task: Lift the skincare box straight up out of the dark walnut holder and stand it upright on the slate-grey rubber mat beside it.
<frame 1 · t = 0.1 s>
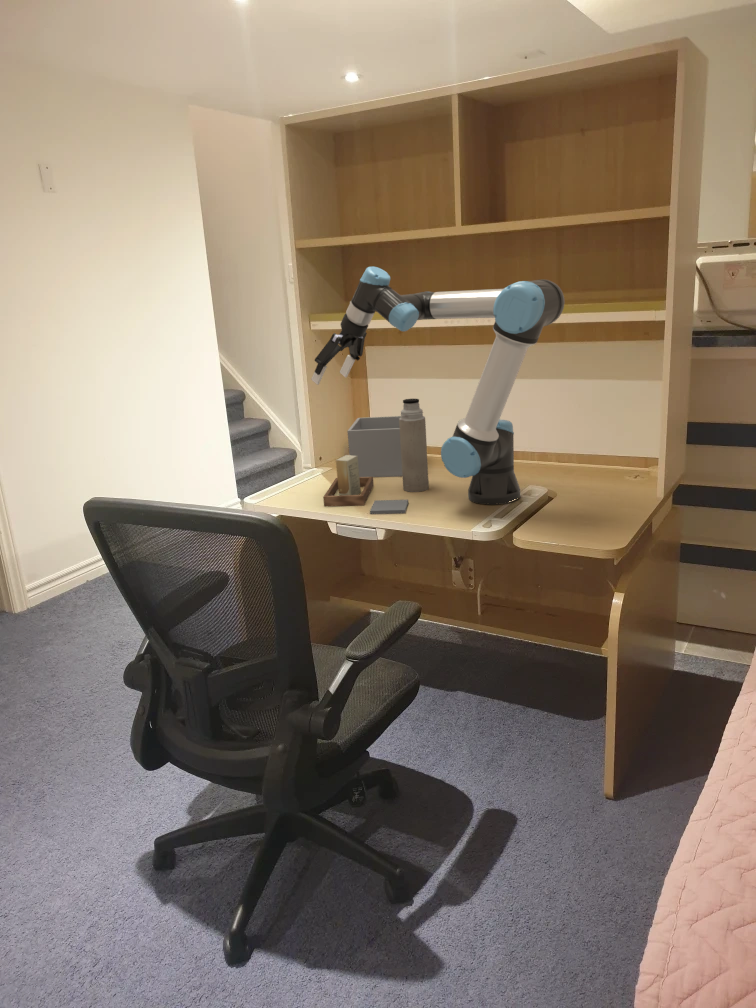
hand: (329, 378, 234), 36 cm above the table, tool tilted 35°, fingers open, 13 cm apart
thermos bottle: (416, 489, 242), on the table
walnut holder: (349, 495, 239), on the table
skincare box: (349, 496, 239), resting in walnut holder
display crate: (387, 468, 268), on the table
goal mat: (389, 508, 224), on the table
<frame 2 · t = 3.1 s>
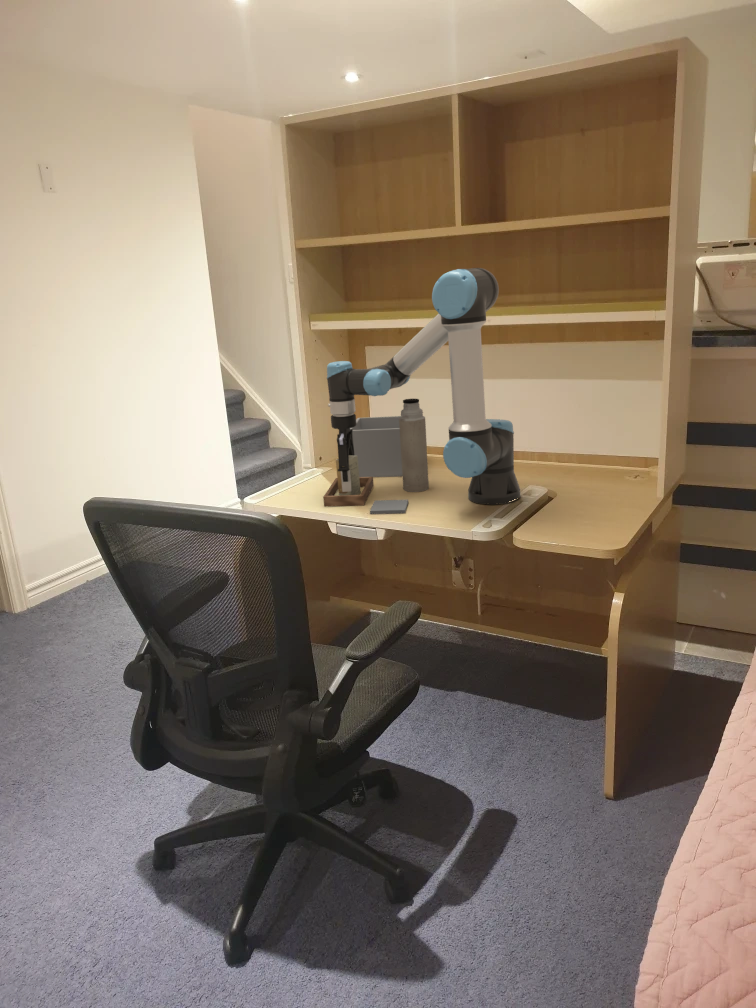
hand: (349, 487, 238), 3 cm above the table, tool pointing down, fingers closed on skincare box, 7 cm apart
skincare box: (349, 496, 239), resting in walnut holder, touching gripper
everything else where it was.
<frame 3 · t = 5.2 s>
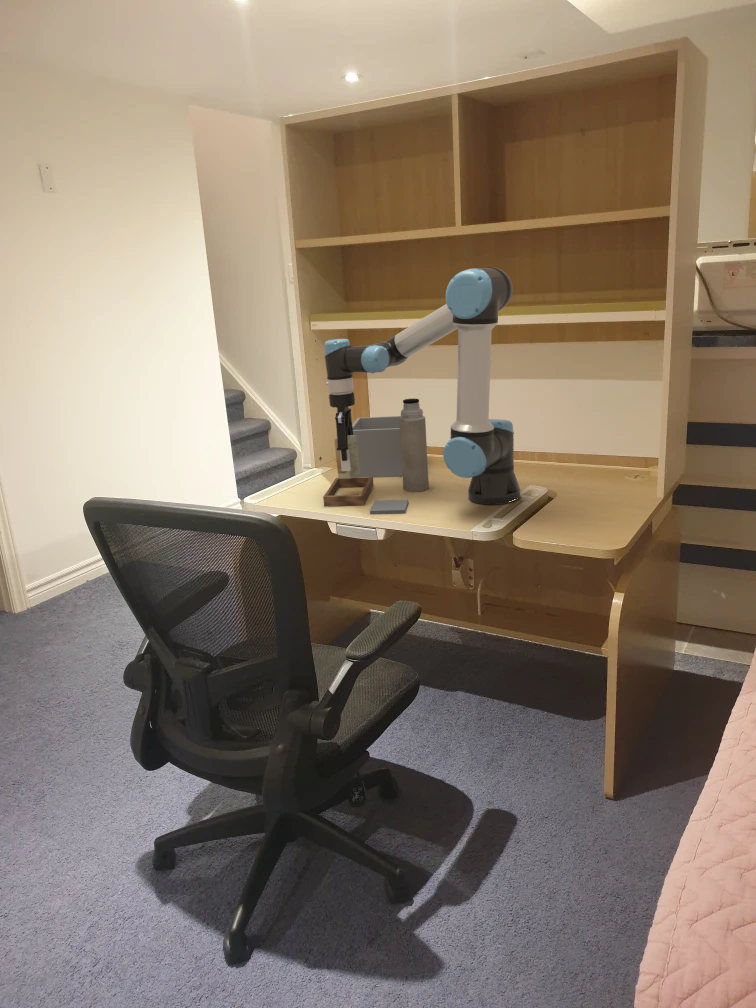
hand: (348, 467, 236), 9 cm above the table, tool pointing down, fingers closed on skincare box, 7 cm apart
skincare box: (349, 476, 237), point 6 cm above the table, touching gripper
everything else where it was.
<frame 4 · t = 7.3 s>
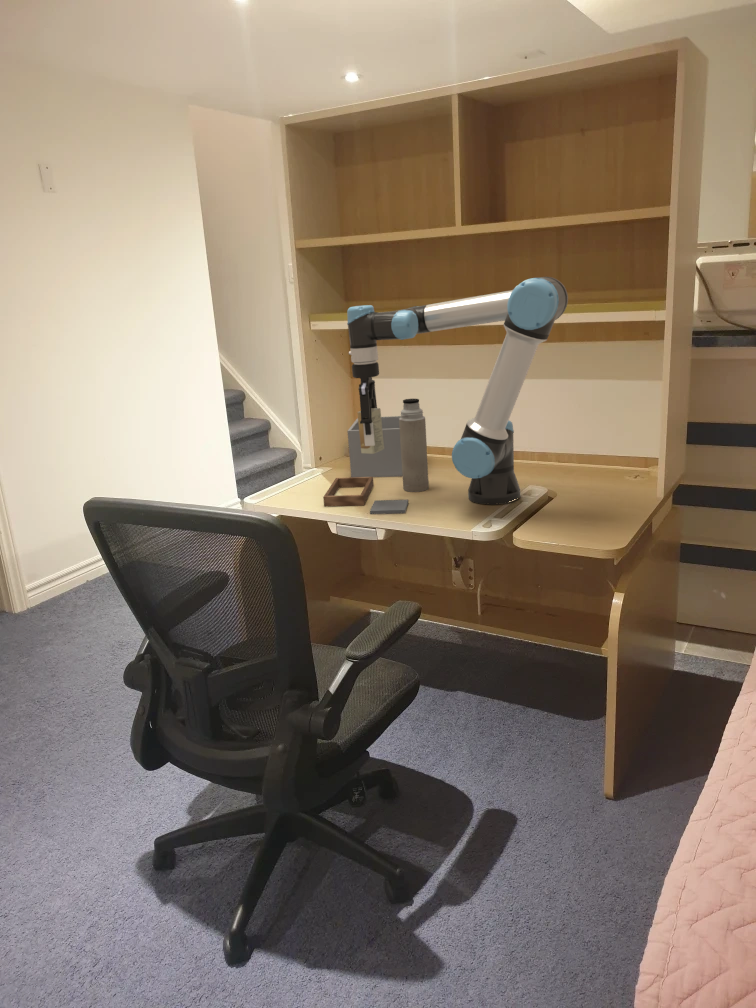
hand: (372, 442, 224), 19 cm above the table, tool pointing down, fingers closed on skincare box, 7 cm apart
skincare box: (372, 452, 224), point 16 cm above the table, touching gripper
everything else where it was.
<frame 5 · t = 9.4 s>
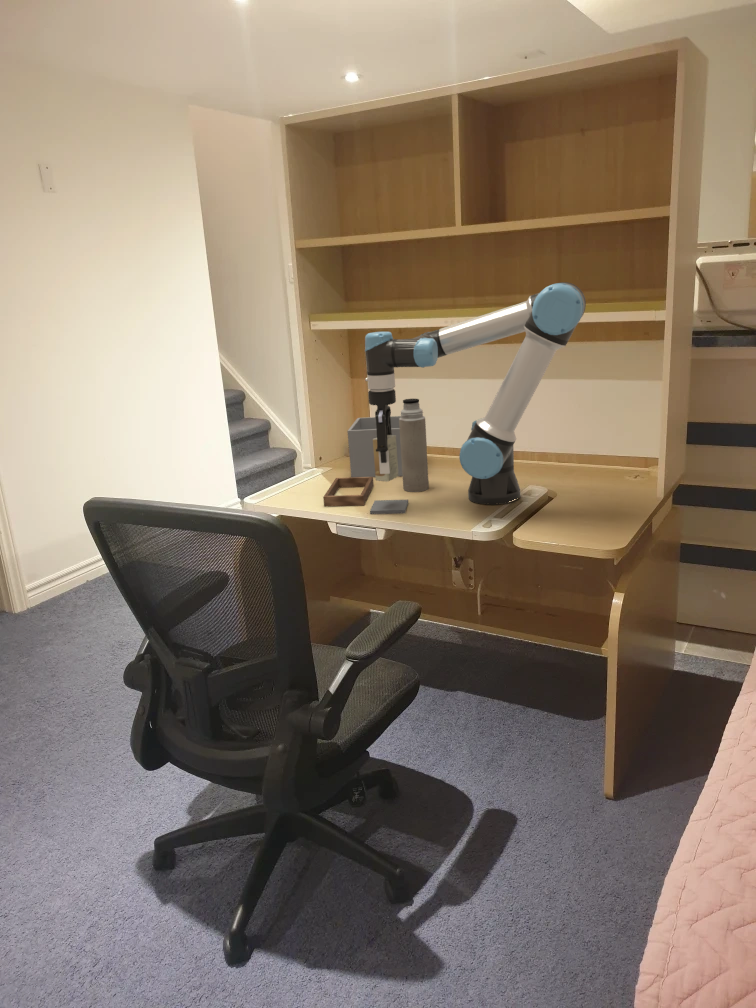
hand: (386, 469, 221), 12 cm above the table, tool pointing down, fingers closed on skincare box, 7 cm apart
skincare box: (387, 479, 221), point 9 cm above the table, touching gripper
everything else where it was.
when the fingers open (5 cm above the table, at t = 11.4 s): skincare box drops 1 cm, resting on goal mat.
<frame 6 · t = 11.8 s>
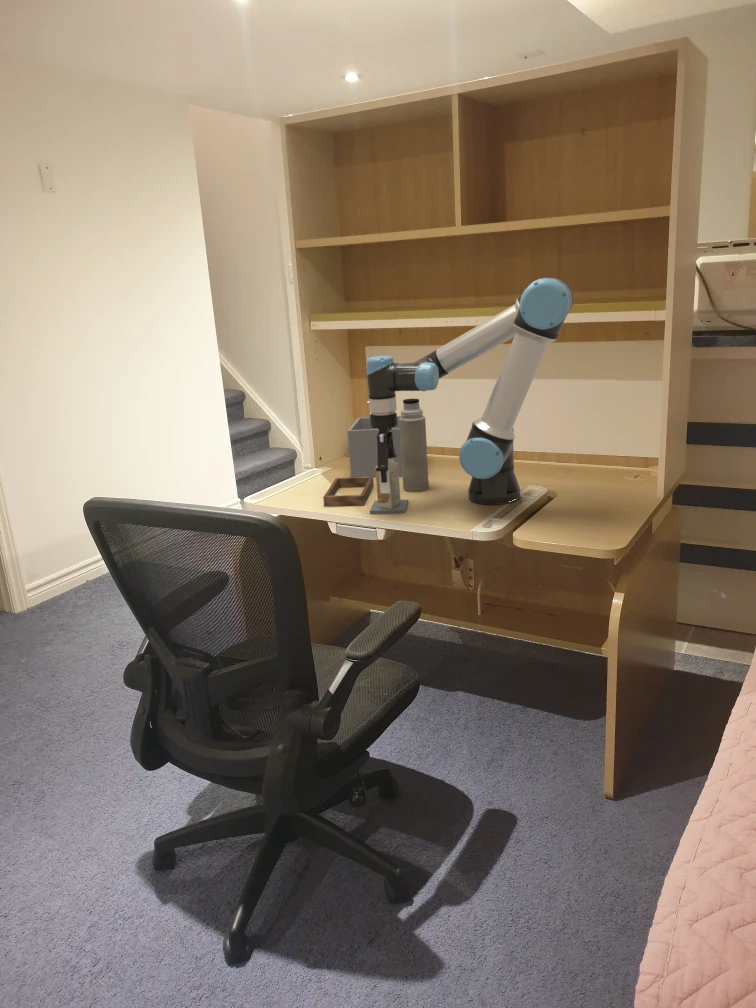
hand: (388, 486, 222), 7 cm above the table, tool pointing down, fingers open, 13 cm apart
skincare box: (389, 506, 223), point 1 cm above the table, touching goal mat
everything else where it was.
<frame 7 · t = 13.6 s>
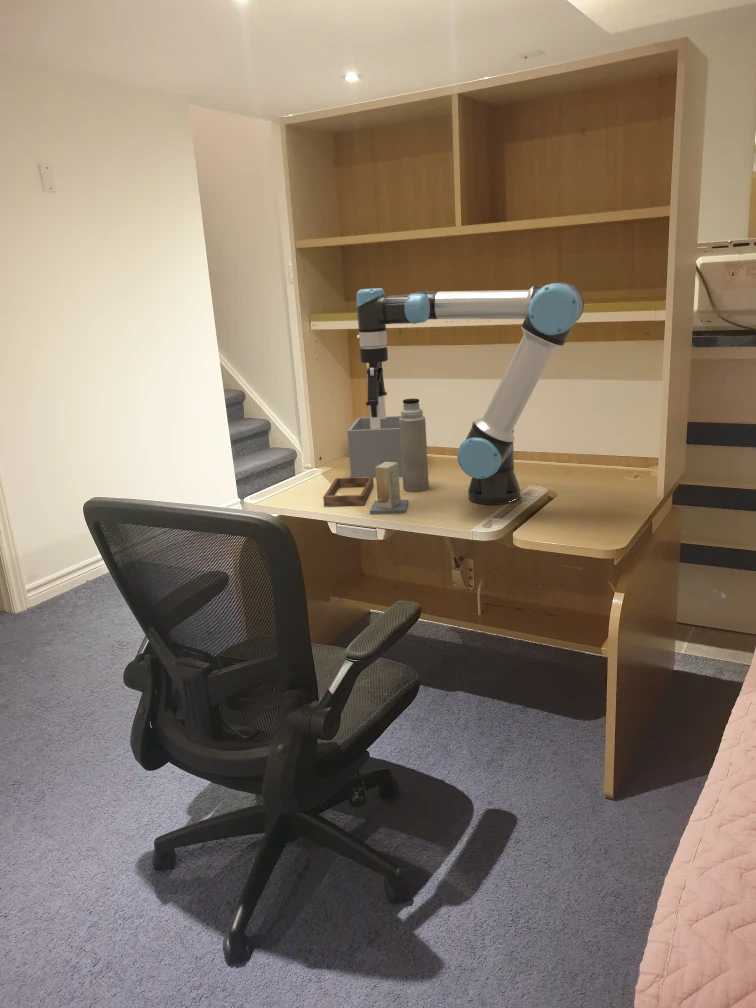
hand: (378, 423, 218), 25 cm above the table, tool pointing down, fingers open, 13 cm apart
nothing on the table moved.
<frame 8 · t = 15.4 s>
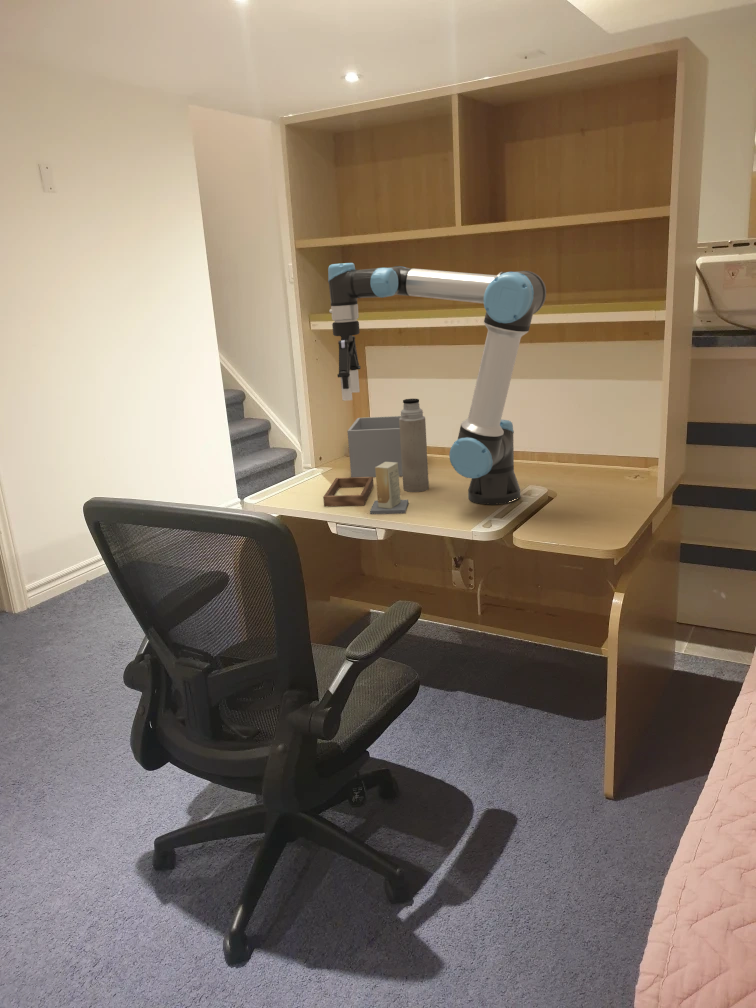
hand: (351, 396, 224), 32 cm above the table, tool pointing down, fingers open, 13 cm apart
nothing on the table moved.
at the end: skincare box inside the target area on the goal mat (0.3 cm from its centre), point 0.8 cm above the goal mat's base; skincare box tilted 0°; the gripper is holding nothing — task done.
